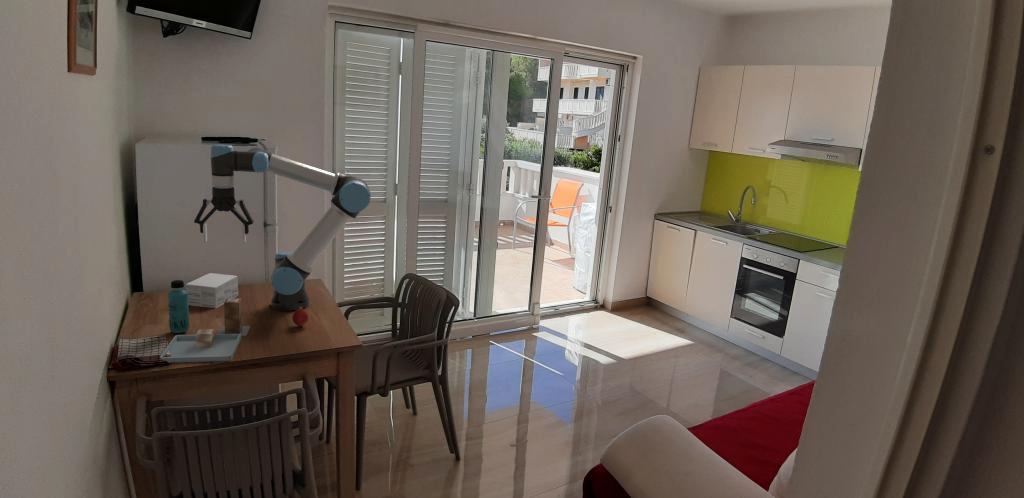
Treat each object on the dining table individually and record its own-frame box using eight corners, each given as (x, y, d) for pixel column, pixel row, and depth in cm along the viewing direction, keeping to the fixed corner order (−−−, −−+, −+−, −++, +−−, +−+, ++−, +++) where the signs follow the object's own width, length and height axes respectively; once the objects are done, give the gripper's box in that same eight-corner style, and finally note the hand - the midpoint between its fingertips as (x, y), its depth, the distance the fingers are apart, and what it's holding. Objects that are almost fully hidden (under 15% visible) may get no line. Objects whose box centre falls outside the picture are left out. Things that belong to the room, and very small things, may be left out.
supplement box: (210, 292, 260) (209, 272, 257) (238, 296, 259) (238, 275, 256) (185, 305, 243) (184, 283, 241) (216, 308, 242) (215, 287, 240)
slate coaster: (250, 327, 226) (250, 325, 226) (246, 337, 217) (246, 335, 217) (221, 327, 224) (221, 326, 223) (216, 338, 214) (216, 336, 214)
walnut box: (242, 328, 223) (241, 297, 220) (239, 333, 218) (239, 302, 215) (227, 328, 222) (226, 297, 219) (225, 333, 217) (224, 302, 214)
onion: (293, 329, 227) (293, 310, 225) (291, 324, 232) (291, 305, 230) (309, 328, 230) (309, 308, 228) (307, 323, 235) (307, 304, 233)
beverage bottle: (174, 329, 218) (171, 277, 214) (193, 330, 219) (190, 278, 214) (165, 336, 212) (162, 283, 207) (185, 337, 213) (182, 284, 208)
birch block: (213, 342, 210) (213, 329, 209) (211, 347, 205) (210, 333, 204) (199, 342, 209) (199, 329, 207) (196, 347, 204) (196, 334, 203)
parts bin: (241, 338, 215) (241, 333, 215) (231, 361, 197) (231, 356, 197) (175, 340, 210) (175, 335, 209) (159, 363, 191) (158, 358, 191)
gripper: (260, 186, 228) (261, 240, 233) (188, 183, 222) (191, 238, 227) (257, 189, 221) (258, 244, 226) (183, 186, 215) (186, 243, 220)
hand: (225, 241), depth 227 cm, fingers open, 13 cm apart
